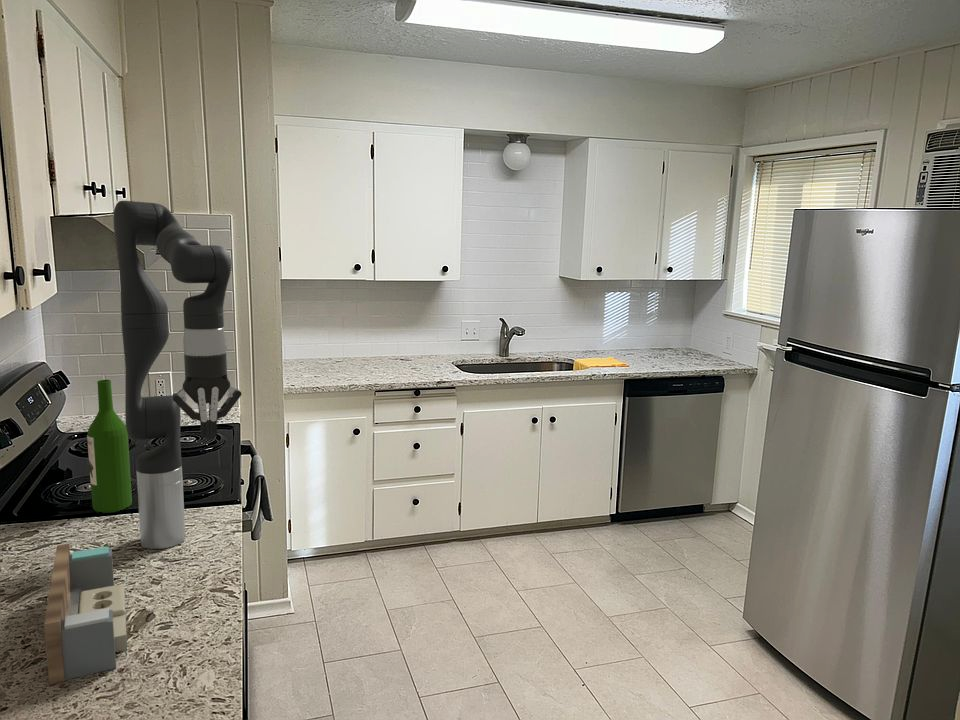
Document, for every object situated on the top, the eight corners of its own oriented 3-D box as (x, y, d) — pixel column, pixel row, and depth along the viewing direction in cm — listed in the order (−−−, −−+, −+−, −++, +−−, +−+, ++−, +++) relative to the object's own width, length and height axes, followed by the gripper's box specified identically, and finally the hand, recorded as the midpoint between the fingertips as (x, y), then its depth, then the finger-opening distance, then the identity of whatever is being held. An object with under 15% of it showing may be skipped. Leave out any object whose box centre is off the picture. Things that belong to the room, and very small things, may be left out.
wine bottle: (87, 506, 179) (78, 380, 174) (125, 497, 185) (117, 376, 180) (99, 516, 173) (89, 385, 167) (137, 507, 179) (129, 381, 174)
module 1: (73, 594, 135) (69, 551, 133) (114, 586, 138) (111, 544, 137) (72, 603, 131) (68, 560, 130) (114, 595, 134) (111, 553, 133)
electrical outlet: (75, 639, 113) (80, 590, 129) (77, 663, 114) (81, 611, 129) (125, 629, 116) (124, 582, 132) (127, 652, 117) (125, 603, 133)
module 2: (66, 666, 112) (61, 615, 111) (115, 655, 115) (112, 606, 114) (64, 680, 108) (60, 628, 107) (115, 668, 112) (112, 617, 110)
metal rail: (72, 603, 131) (70, 585, 131) (81, 601, 132) (80, 584, 131) (66, 666, 112) (64, 645, 111) (76, 663, 113) (75, 643, 112)
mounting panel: (61, 595, 134) (56, 545, 133) (73, 592, 135) (69, 543, 134) (49, 685, 107) (44, 624, 106) (64, 681, 108) (59, 621, 106)
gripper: (238, 346, 141) (241, 431, 143) (166, 350, 135) (170, 438, 137) (244, 352, 134) (247, 440, 137) (169, 356, 128) (173, 448, 131)
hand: (209, 439), depth 137 cm, fingers closed
